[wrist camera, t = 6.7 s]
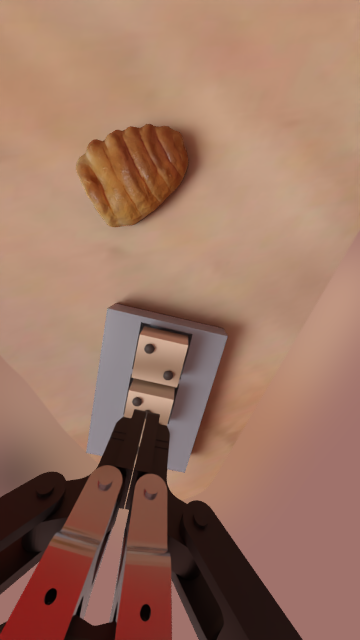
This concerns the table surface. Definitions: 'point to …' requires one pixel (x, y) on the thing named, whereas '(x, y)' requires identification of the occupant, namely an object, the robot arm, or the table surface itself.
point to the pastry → (132, 172)
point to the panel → (117, 378)
